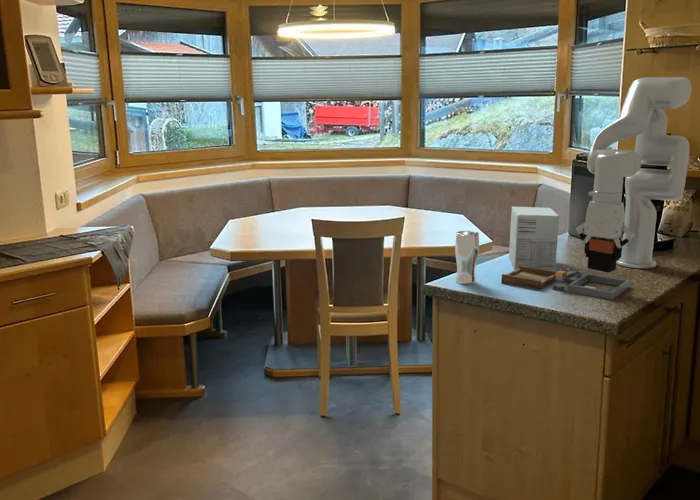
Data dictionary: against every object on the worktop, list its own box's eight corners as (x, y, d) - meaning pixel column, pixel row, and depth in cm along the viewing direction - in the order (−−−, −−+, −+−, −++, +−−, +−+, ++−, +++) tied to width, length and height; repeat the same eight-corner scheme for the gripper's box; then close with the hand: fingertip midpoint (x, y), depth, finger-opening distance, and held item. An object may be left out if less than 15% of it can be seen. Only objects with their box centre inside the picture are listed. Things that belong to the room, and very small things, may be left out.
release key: (570, 274, 203) (570, 267, 203) (576, 275, 202) (577, 268, 202) (554, 279, 194) (555, 272, 193) (561, 280, 192) (562, 273, 192)
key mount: (567, 278, 206) (568, 267, 205) (582, 281, 203) (583, 270, 202) (549, 288, 195) (550, 277, 194) (565, 291, 192) (565, 280, 191)
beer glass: (472, 286, 197) (474, 236, 194) (450, 282, 201) (452, 233, 197) (480, 280, 203) (483, 232, 200) (459, 277, 207) (461, 229, 203)
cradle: (586, 279, 204) (587, 272, 204) (628, 287, 197) (629, 279, 197) (567, 291, 192) (568, 283, 192) (611, 299, 185) (612, 291, 184)
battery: (608, 273, 190) (611, 239, 188) (586, 268, 195) (589, 235, 193) (616, 270, 193) (619, 236, 190) (594, 265, 198) (596, 232, 195)
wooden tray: (519, 273, 211) (520, 265, 210) (556, 280, 204) (557, 272, 203) (501, 282, 201) (501, 274, 200) (539, 290, 194) (540, 281, 193)
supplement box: (556, 272, 213) (560, 216, 209) (513, 270, 215) (516, 215, 211) (547, 259, 230) (551, 206, 226) (507, 257, 232) (511, 205, 227)
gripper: (571, 196, 191) (567, 256, 196) (635, 202, 181) (629, 266, 185) (581, 192, 197) (577, 251, 201) (643, 198, 186) (637, 259, 191)
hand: (602, 257), depth 193 cm, fingers closed on battery, 7 cm apart
